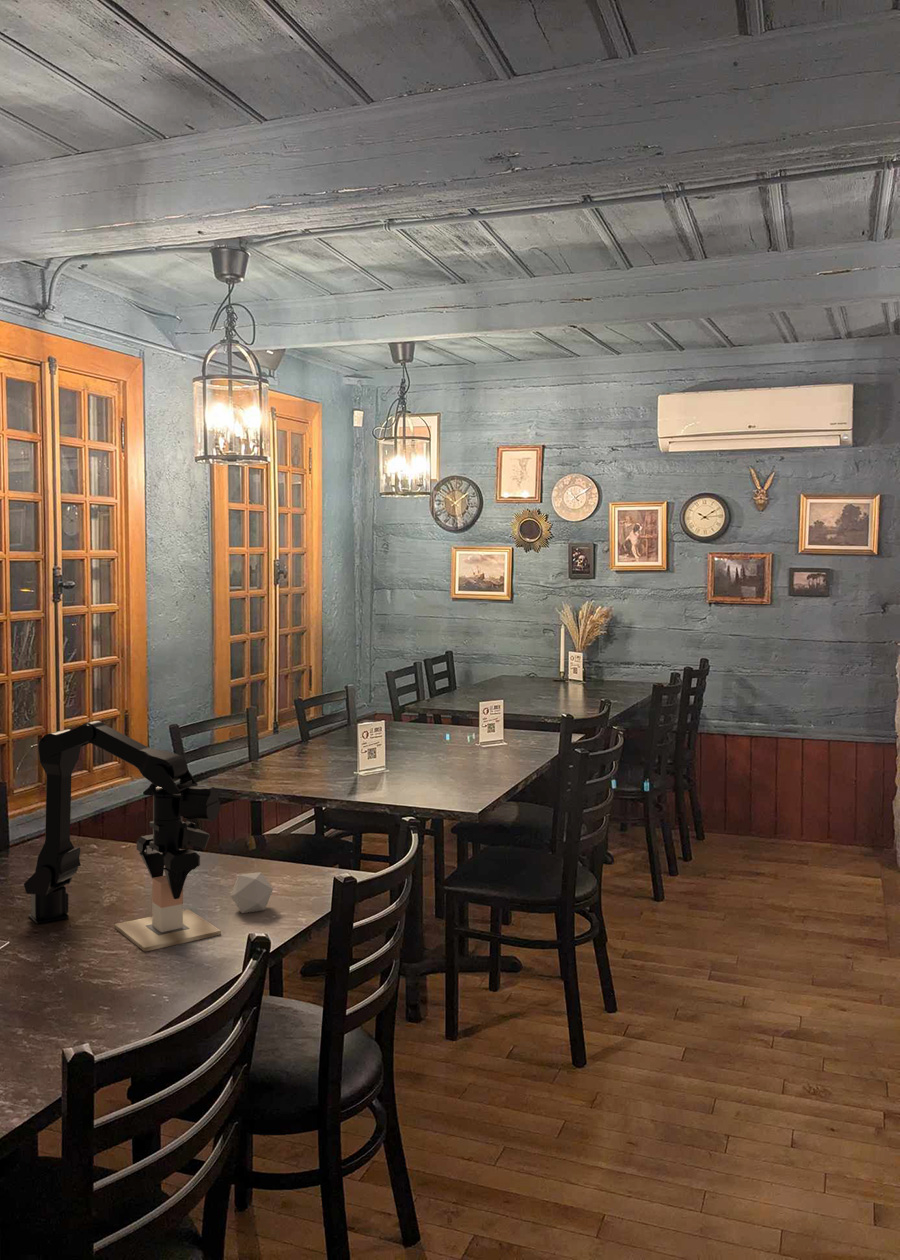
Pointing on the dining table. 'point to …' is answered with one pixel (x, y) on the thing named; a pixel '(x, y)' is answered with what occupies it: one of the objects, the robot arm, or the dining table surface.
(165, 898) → the terracotta block
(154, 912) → the cream block
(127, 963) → the dining table surface
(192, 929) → the tan board
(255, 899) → the die
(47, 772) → the robot arm
